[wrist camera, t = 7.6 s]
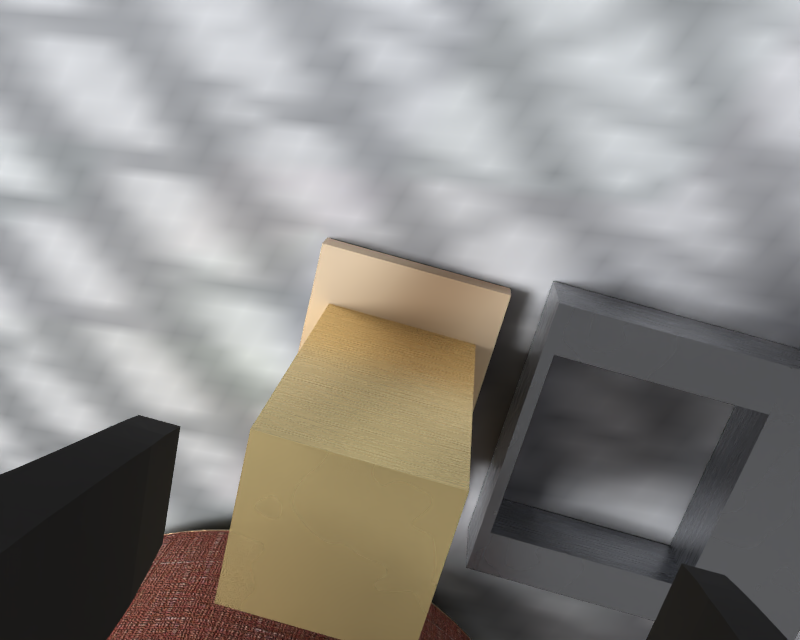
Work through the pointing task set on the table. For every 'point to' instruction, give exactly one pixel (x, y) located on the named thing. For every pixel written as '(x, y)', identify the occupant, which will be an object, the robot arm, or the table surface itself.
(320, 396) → the brushed brass bar
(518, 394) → the grey square frame
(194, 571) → the planter
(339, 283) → the coaster
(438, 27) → the table surface
